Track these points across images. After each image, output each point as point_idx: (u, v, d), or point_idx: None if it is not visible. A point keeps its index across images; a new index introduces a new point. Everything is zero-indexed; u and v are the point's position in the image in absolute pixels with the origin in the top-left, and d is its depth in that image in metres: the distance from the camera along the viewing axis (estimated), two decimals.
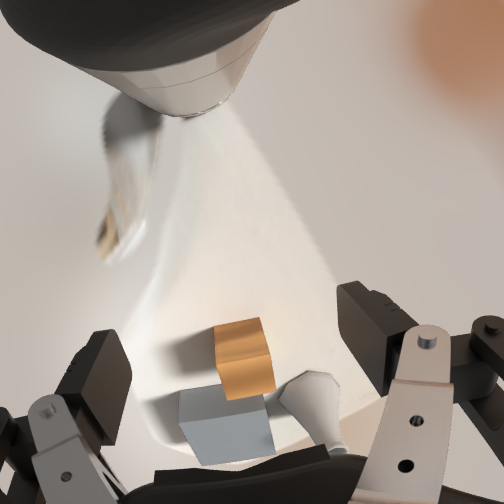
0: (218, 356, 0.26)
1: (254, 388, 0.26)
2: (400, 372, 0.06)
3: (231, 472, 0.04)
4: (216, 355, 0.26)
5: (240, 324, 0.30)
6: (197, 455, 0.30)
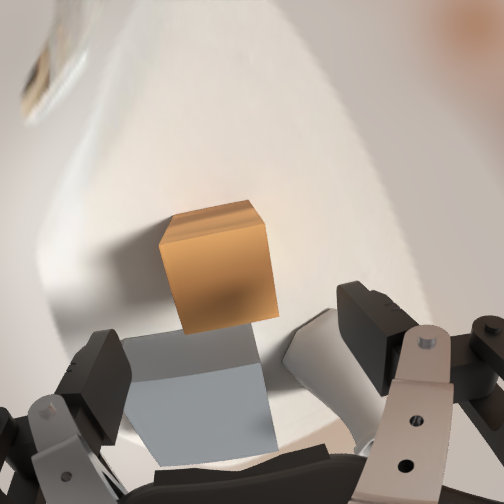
0: (167, 236, 0.14)
1: (236, 307, 0.14)
2: (400, 372, 0.06)
3: (231, 472, 0.04)
4: (164, 236, 0.14)
5: (216, 208, 0.18)
6: (150, 448, 0.18)
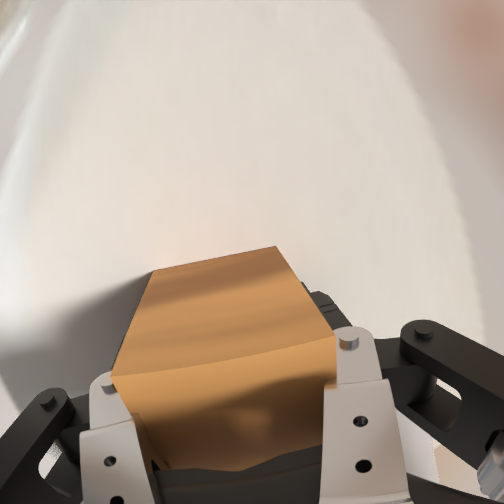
0: (131, 345, 0.07)
1: (266, 460, 0.07)
2: None
3: (232, 472, 0.04)
4: (126, 342, 0.07)
5: (223, 262, 0.11)
6: None
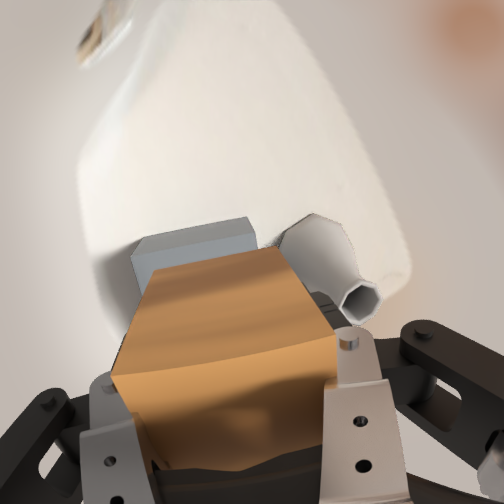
0: (131, 345, 0.07)
1: (266, 459, 0.07)
2: None
3: (231, 472, 0.04)
4: (126, 342, 0.07)
5: (223, 262, 0.11)
6: None
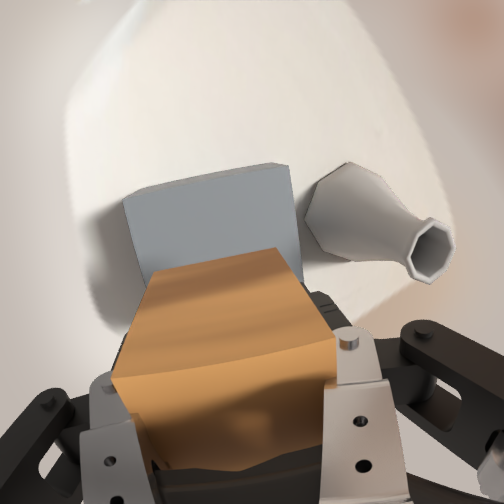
0: (132, 347, 0.07)
1: None
2: None
3: (231, 472, 0.04)
4: (126, 344, 0.07)
5: (223, 263, 0.11)
6: None
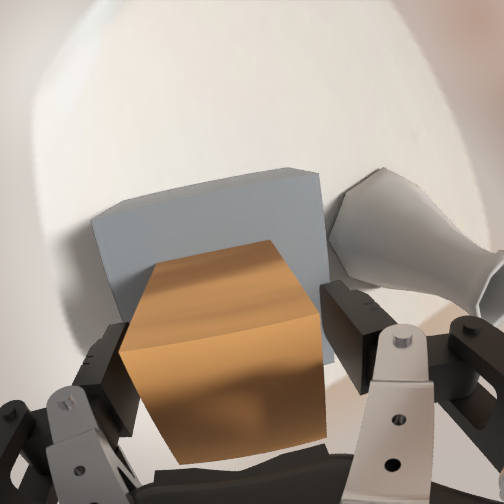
0: (137, 325, 0.07)
1: (260, 435, 0.08)
2: (378, 372, 0.06)
3: (231, 472, 0.04)
4: (132, 323, 0.08)
5: (221, 254, 0.12)
6: None
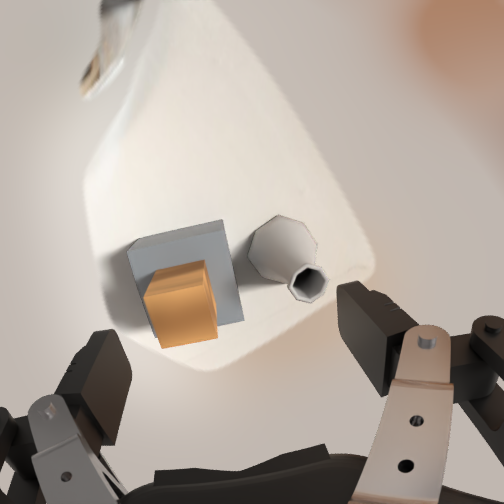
0: (149, 290, 0.23)
1: (190, 332, 0.23)
2: (400, 372, 0.06)
3: (231, 472, 0.04)
4: (147, 290, 0.23)
5: (182, 266, 0.27)
6: None
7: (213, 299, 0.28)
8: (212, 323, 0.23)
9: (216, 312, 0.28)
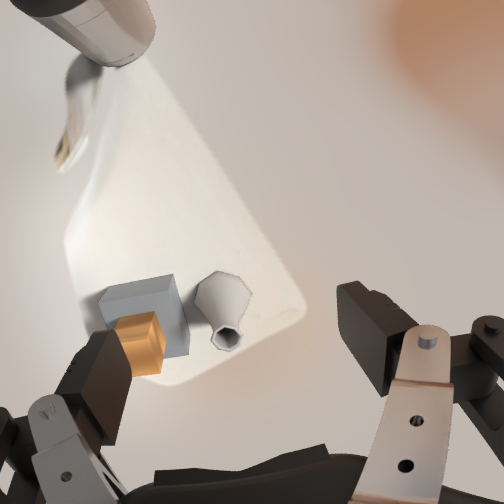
0: None
1: (141, 368, 0.30)
2: (400, 372, 0.06)
3: (231, 472, 0.04)
4: None
5: (138, 316, 0.34)
6: None
7: (162, 340, 0.35)
8: (155, 363, 0.30)
9: (164, 350, 0.35)
